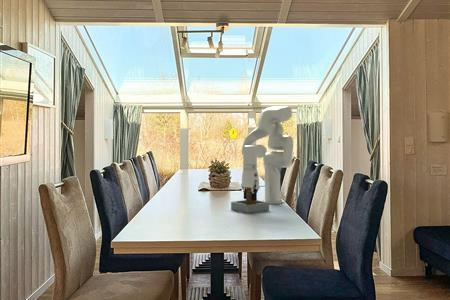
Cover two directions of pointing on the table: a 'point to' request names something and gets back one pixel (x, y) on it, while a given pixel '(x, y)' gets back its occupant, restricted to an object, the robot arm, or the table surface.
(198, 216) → the table surface
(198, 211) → the table surface
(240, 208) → the box
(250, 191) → the condiment
